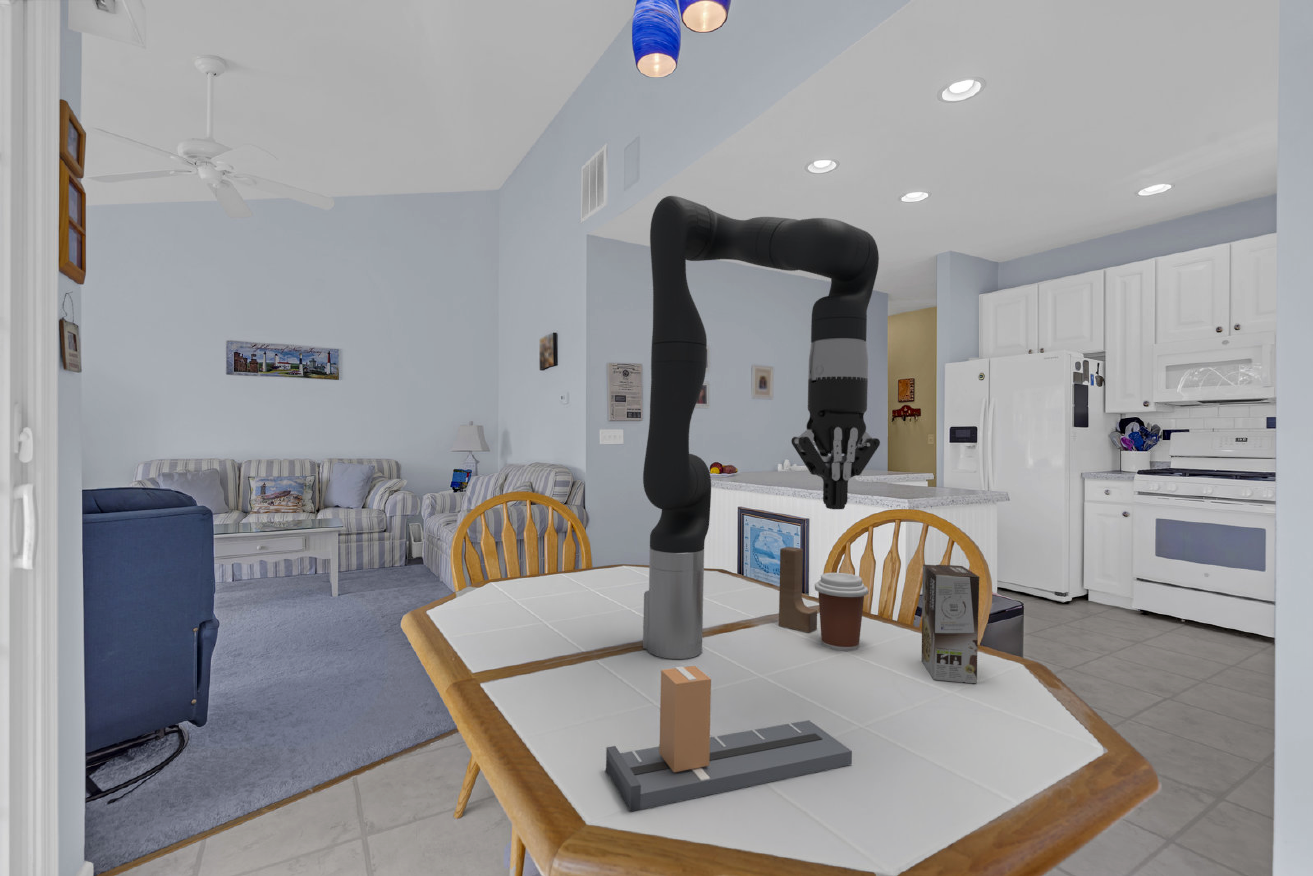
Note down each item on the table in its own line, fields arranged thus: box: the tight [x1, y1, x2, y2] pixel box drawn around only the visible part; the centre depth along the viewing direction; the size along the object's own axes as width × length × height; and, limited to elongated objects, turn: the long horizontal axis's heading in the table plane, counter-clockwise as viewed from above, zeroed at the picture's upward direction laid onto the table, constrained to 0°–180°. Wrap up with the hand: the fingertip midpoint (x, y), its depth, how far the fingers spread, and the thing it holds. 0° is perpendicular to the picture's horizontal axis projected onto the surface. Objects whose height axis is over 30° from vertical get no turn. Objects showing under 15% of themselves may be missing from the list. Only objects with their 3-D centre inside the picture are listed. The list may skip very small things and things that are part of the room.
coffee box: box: [921, 564, 980, 684], centre depth 98 cm, size 9×6×16 cm
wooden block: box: [778, 546, 818, 634], centre depth 119 cm, size 7×3×15 cm, turn 48°
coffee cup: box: [814, 572, 869, 652], centre depth 110 cm, size 9×9×12 cm
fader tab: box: [658, 665, 712, 772], centre depth 66 cm, size 4×4×9 cm
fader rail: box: [605, 719, 853, 813], centre depth 68 cm, size 26×8×2 cm, turn 112°
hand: (834, 508), depth 82 cm, fingers closed
